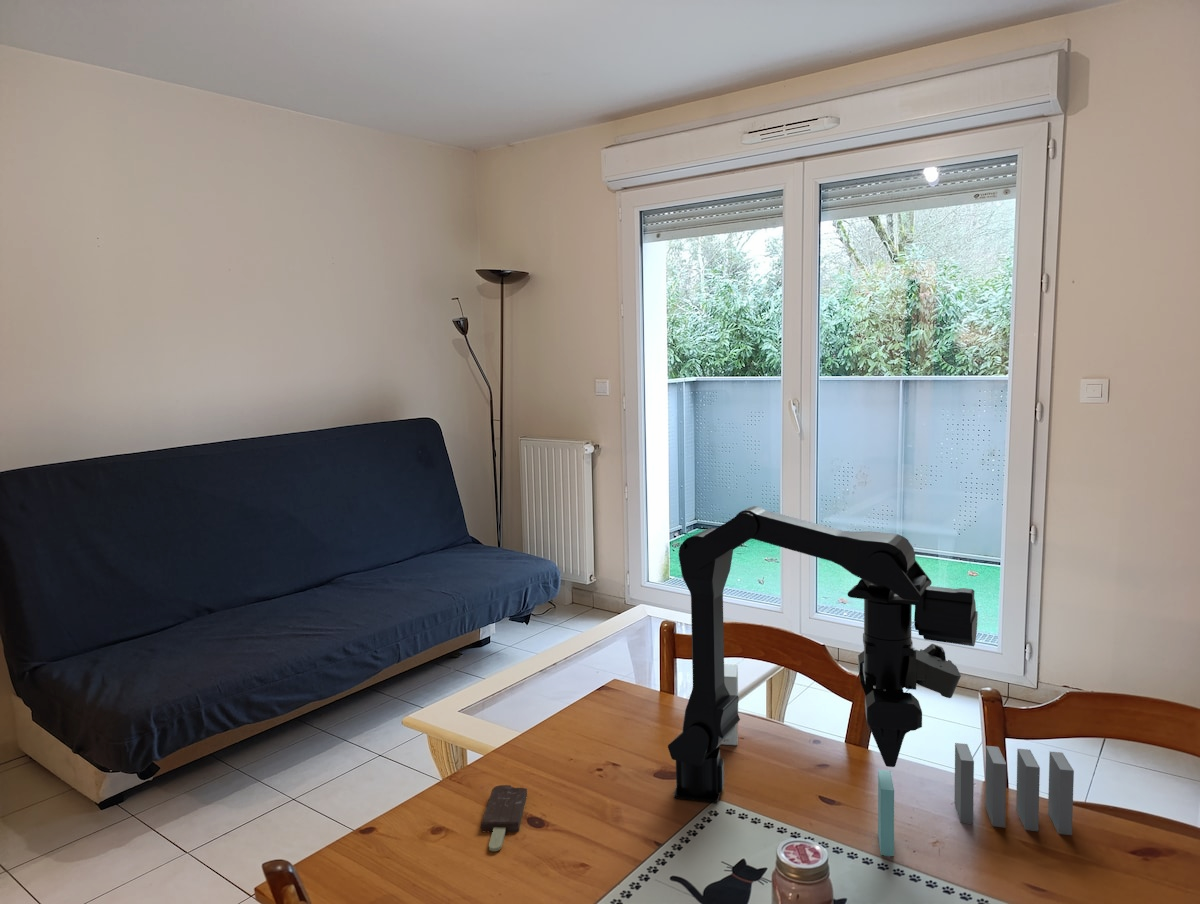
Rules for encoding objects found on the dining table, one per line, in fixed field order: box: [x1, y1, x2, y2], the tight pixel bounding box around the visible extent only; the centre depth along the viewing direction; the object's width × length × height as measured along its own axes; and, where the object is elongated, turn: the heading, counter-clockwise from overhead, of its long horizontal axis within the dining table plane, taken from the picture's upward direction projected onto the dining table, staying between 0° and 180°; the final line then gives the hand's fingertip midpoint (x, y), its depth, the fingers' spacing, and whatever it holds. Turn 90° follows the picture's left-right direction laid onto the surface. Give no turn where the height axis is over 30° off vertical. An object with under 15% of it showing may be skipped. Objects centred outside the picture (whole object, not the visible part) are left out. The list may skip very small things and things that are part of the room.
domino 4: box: [1047, 751, 1075, 836], centre depth 105 cm, size 2×5×9 cm, turn 164°
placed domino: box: [877, 769, 895, 857], centre depth 102 cm, size 2×5×9 cm, turn 164°
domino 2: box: [984, 745, 1007, 828], centre depth 107 cm, size 2×5×9 cm, turn 164°
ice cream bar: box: [480, 784, 528, 852], centre depth 111 cm, size 5×2×15 cm
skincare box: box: [720, 663, 739, 746], centre depth 133 cm, size 6×4×12 cm
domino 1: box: [953, 742, 975, 825], centre depth 109 cm, size 2×5×9 cm, turn 164°
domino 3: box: [1015, 748, 1041, 832], centre depth 106 cm, size 2×5×9 cm, turn 164°
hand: (886, 748), depth 102 cm, fingers open, 9 cm apart
